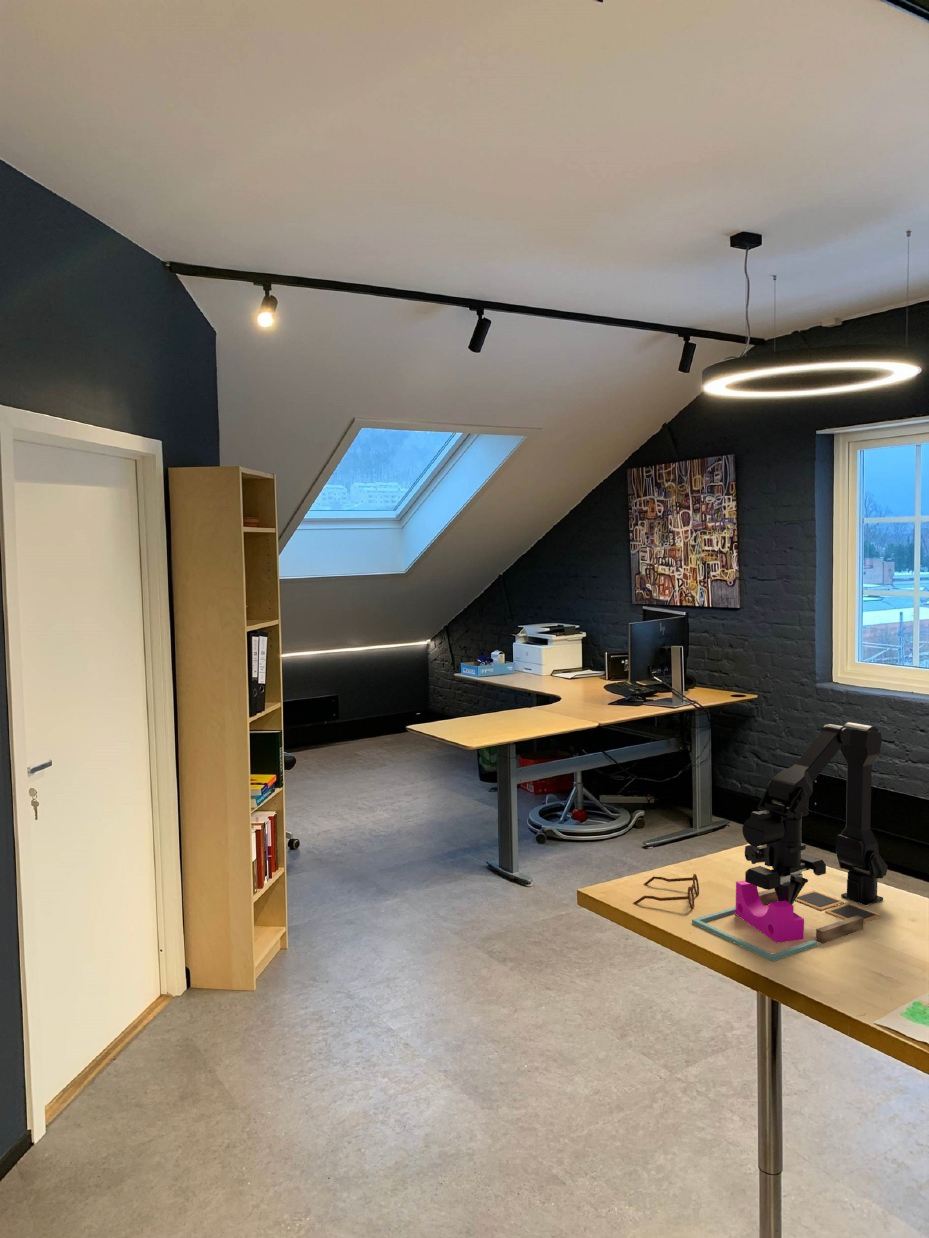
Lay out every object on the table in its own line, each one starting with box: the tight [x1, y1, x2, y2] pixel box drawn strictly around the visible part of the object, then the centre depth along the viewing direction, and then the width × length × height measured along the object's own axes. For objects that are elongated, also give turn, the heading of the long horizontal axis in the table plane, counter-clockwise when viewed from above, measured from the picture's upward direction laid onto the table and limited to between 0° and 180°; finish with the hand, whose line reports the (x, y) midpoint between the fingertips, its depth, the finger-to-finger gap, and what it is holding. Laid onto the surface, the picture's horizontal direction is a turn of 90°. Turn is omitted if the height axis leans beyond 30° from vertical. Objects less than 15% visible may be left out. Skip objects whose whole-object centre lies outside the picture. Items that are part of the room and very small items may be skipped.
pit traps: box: [794, 890, 882, 924], centre depth 197 cm, size 8×17×1 cm, turn 31°
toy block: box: [735, 880, 805, 944], centre depth 187 cm, size 15×6×8 cm, turn 15°
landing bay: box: [691, 906, 819, 962], centre depth 183 cm, size 13×21×1 cm, turn 31°
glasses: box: [632, 873, 700, 910], centre depth 204 cm, size 13×13×5 cm
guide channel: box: [758, 888, 865, 945], centre depth 191 cm, size 13×21×2 cm, turn 31°
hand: (785, 911), depth 188 cm, fingers closed
